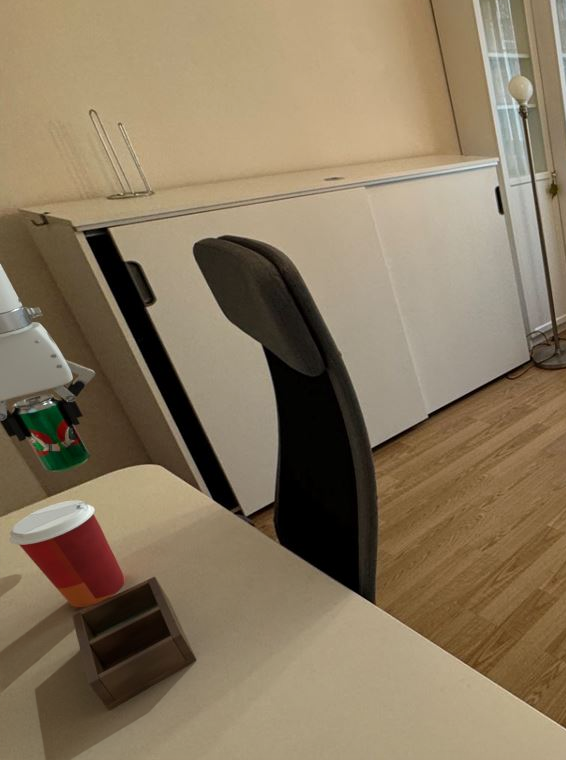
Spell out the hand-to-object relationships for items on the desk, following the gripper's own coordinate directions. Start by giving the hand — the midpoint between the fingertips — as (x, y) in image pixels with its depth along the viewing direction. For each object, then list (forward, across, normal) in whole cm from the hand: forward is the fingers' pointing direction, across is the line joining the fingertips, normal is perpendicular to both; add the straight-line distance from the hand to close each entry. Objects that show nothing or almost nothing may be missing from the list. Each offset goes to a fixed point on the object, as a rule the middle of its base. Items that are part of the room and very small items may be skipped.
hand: (49, 428), depth 88 cm
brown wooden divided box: (+18, +1, +41) cm, 45 cm away
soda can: (+7, 0, 0) cm, 7 cm away
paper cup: (+18, +3, +23) cm, 29 cm away
